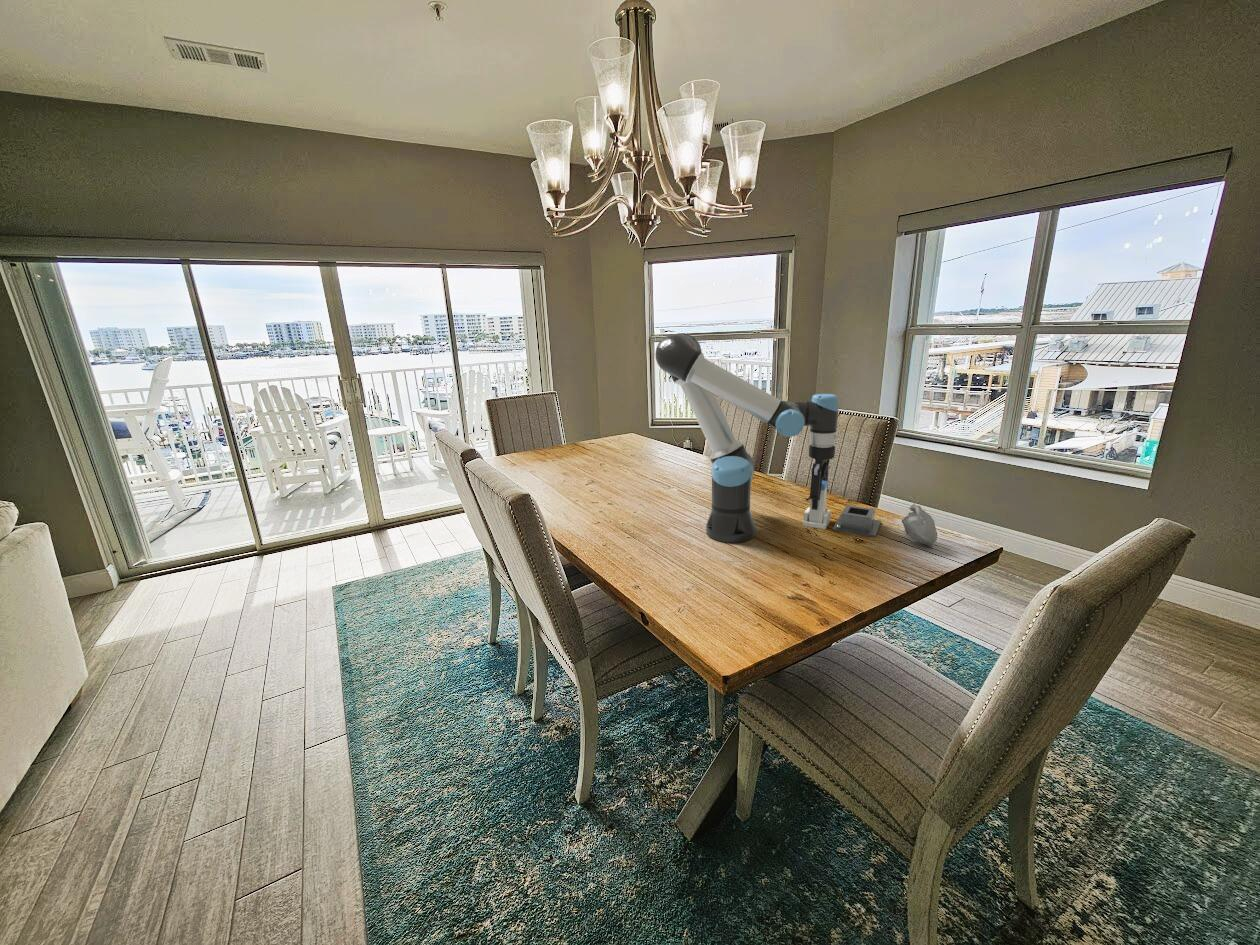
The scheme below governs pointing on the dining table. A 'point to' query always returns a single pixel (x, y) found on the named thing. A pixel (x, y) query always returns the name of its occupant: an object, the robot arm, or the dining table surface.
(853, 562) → the dining table surface
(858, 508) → the port panel
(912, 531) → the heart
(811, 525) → the holster
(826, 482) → the plug
